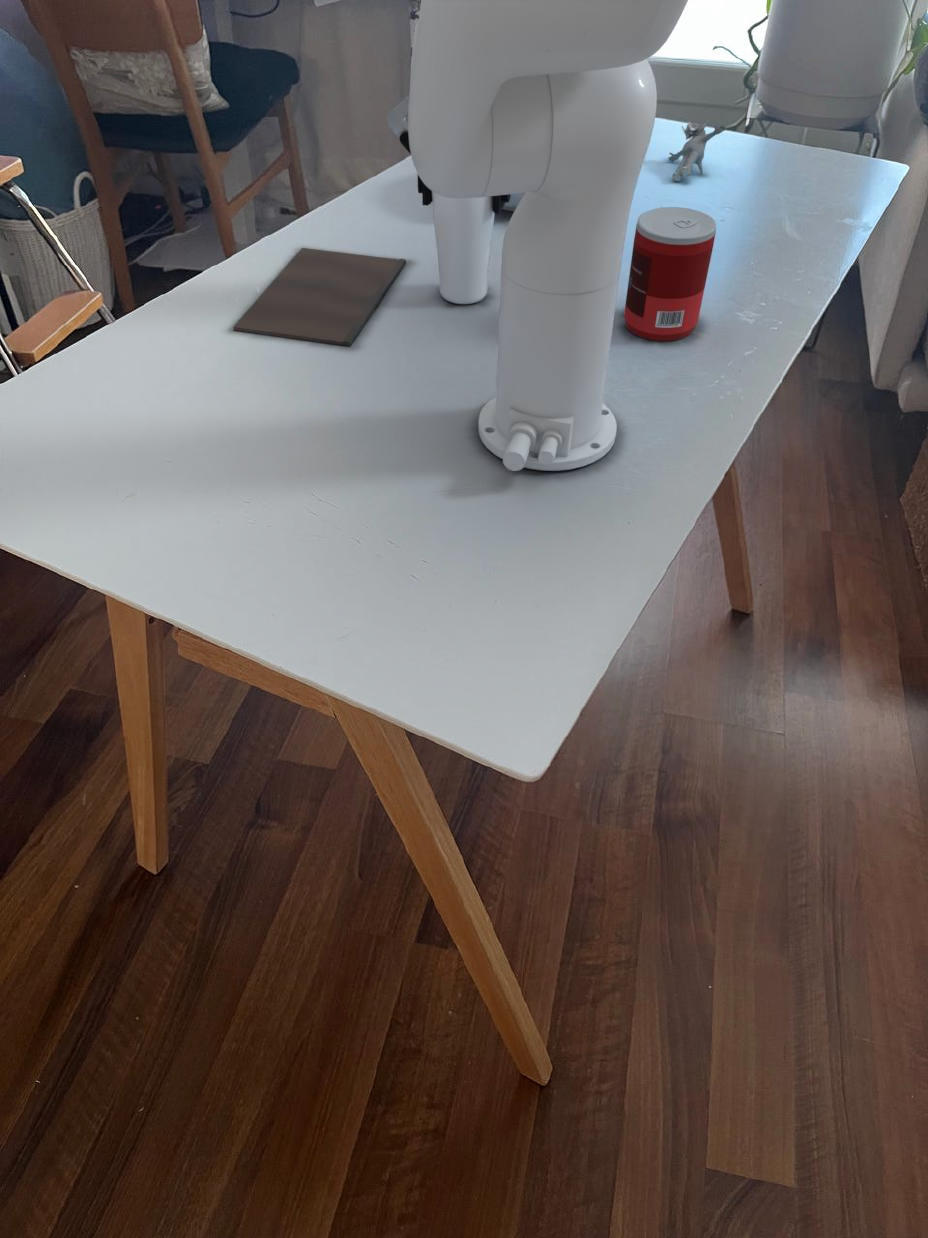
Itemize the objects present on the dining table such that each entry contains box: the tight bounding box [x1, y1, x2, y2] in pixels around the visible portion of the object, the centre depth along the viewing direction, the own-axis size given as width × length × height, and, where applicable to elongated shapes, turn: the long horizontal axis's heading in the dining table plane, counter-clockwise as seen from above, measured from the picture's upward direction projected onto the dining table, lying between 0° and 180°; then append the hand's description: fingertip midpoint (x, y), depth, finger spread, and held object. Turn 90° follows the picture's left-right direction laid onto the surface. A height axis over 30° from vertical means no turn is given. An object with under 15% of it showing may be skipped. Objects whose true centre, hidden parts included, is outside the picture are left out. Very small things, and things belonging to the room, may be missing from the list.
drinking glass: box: [431, 191, 496, 305], centre depth 99 cm, size 7×7×15 cm
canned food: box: [623, 206, 717, 342], centre depth 96 cm, size 8×8×11 cm
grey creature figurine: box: [667, 120, 727, 183], centre depth 129 cm, size 10×6×9 cm
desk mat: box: [232, 247, 407, 347], centre depth 104 cm, size 20×13×1 cm, turn 166°
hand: (464, 202), depth 97 cm, fingers closed on drinking glass, 6 cm apart
